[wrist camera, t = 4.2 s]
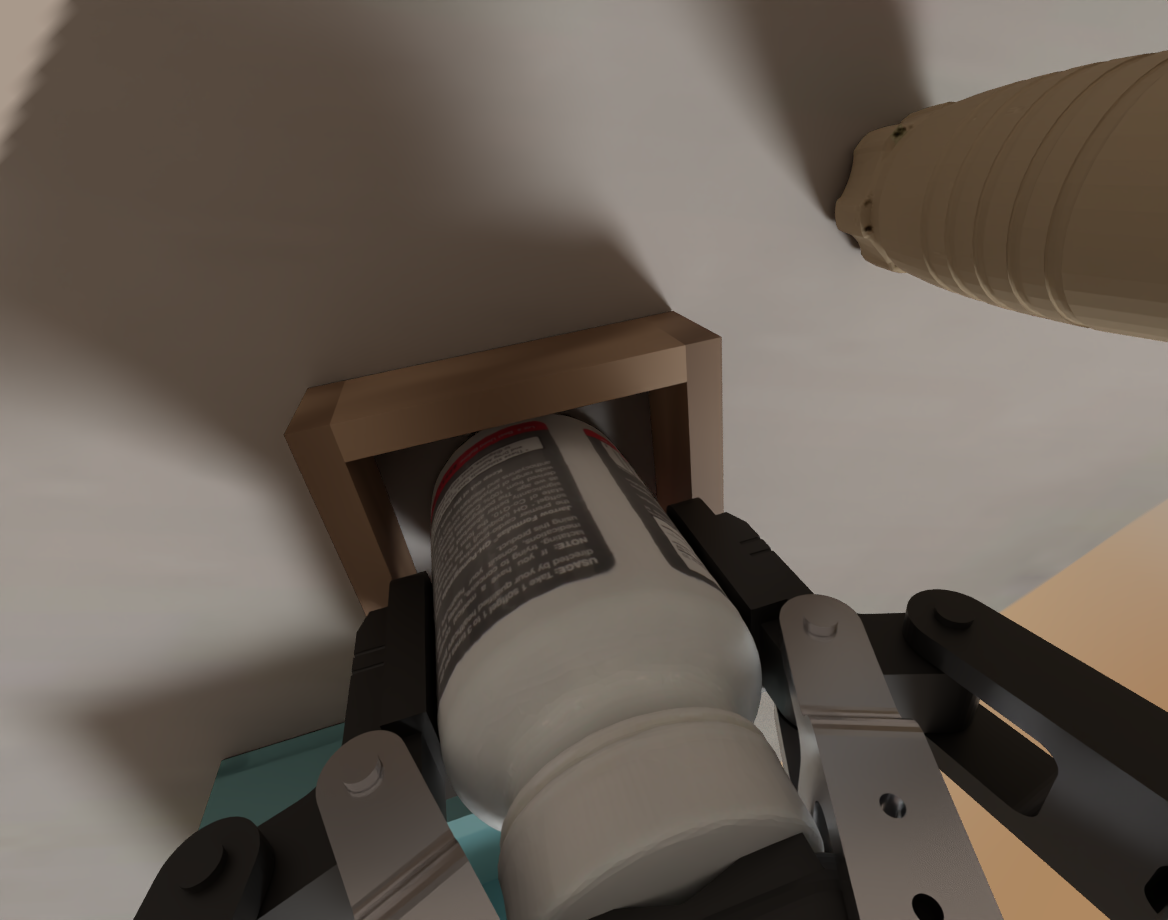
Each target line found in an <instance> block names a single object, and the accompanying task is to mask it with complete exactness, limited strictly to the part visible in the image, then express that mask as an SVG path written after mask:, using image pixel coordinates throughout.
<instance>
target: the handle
mask: <svg viewBox="0 0 1168 920" xmlns="http://www.w3.org/2000/svg"><path fill="white" fill-rule="evenodd" d="M853 156H854V159H853V166H852V170H851V173H850V177H849V180H848V183H847V185H846V188H845V190H844V192H843V193H842V195H841V197H840V198H839V199H838V200H837V201H836V207H835V220H836V225H837V227H838V229H839V230H840V231H843V232H845V233H848V234H851V235H852V236H853V237H854V238H855V239H856V240H857V242H858V243H859V246H860V248H861V255H862V256H863V258H864V259H865V260H866V261H868V262H870V263H872V264H874V265H876V266H878V267H881V268H884V269H887V270H890V271H893V272H897V273H909V274H911V275H913V276H915V277H917V278H920V279H922V280H924V281H926V282H928V283H930V284H933V285H935V286H938V287H941V288H943V289H946V290H948V291H951V292H954V293H958V294H960V295H963V296H966V297H969V298H972V299H975V300H979V301H983V302H986V303H988V304H991V305H995V306H998V307H1001V308H1004V309H1008V310H1013V311H1016V312H1020V313H1024V314H1028V315H1032V316H1037V317H1041V318H1046V319H1051V320H1054V321H1058V322H1063V323H1067V324H1072V325H1076V326H1081V327H1086V328H1092V329H1094V330H1099V331H1104V332H1110V333H1116V334H1122V335H1128V336H1134V337H1140V338H1146V339H1152V340H1158V341H1164V342H1168V50H1167V51H1162V52H1158V53H1150V54H1142V55H1137V56H1131V57H1125V58H1119V59H1113V60H1110V61H1106V62H1098V63H1093V64H1088V65H1084V66H1080V67H1075V68H1071V69H1068V70H1065V71H1061V72H1054V73H1050V74H1046V75H1042V76H1038V77H1034V78H1031V79H1028V80H1022V81H1019V82H1015V83H1012V84H1009V85H1005V86H1002V87H999V88H995V89H992V90H989V91H986V92H983V93H980V94H977V95H974V96H972V97H969V98H966V99H964V100H961V101H958V102H947V103H943V104H939V105H935V106H931V107H927V108H925V109H922V110H919V111H917V112H914V113H911V114H910V115H908V116H907V117H906V118H904V119H903V120H902V122H901V123H900V124H896V125H892V126H887V127H883V128H880V129H877V130H874V131H871V132H869V133H868V134H867V135H866V136H865V137H864V138H863V139H862V140H861V141H860V143H859V144H858V145H857V146H856V148H855V150H854V152H853Z"/></svg>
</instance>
